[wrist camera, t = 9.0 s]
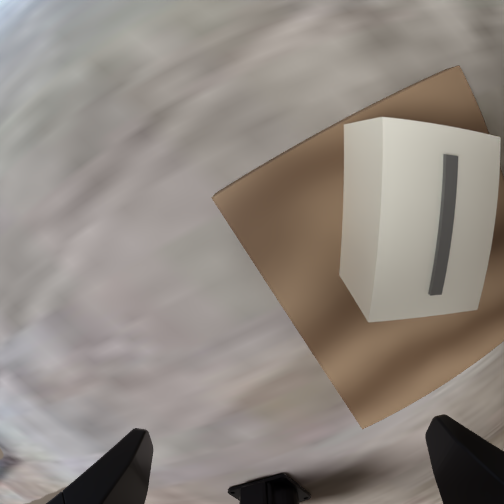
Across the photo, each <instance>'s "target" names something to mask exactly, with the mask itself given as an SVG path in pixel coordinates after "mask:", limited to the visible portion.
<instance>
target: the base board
mask: <svg viewBox="0 0 504 504" xmlns="http://www.w3.org/2000/svg"><path fill="white" fill-rule="evenodd" d="M378 117H389V118H398V119H406V120H413V121H420V122H427V123H433V124H439V125H445V126H451V127H456V128H461V129H466V130H471V131H476V132H480V133H485V134H489V132H488V129H487V127H486V124H485V121H484V119H483V116H482V114H481V111H480V109H479V107H478V104H477V102H476V100H475V97H474V95H473V93H472V91H471V89H470V86H469V84H468V82H467V80H466V78H465V76H464V74H463V72H462V70H461V68H460V66H455V67H452V68H449V69H446V70H444V71H441V72H439V73H437V74H435V75H432V76H430V77H428V78H426V79H424V80H421V81H419V82H417V83H415V84H413V85H411V86H409V87H407V88H404V89H402V90H400V91H398V92H396V93H394V94H392V95H390V96H388V97H386V98H384V99H382V100H380V101H378V102H376V103H374V104H372V105H370V106H368V107H366V108H364V109H362V110H360V111H358V112H356V113H354V114H352V115H351V116H349V117H347V118H345V119H343V120H341V121H339V122H337V123H335V124H334V125H332V126H330V127H328V128H326V129H324V130H322V131H321V132H319V133H317V134H315V135H313V136H312V137H310V138H308V139H306V140H304V141H303V142H301V143H299V144H297V145H295V146H294V147H292V148H290V149H288V150H287V151H285V152H283V153H281V154H280V155H278V156H276V157H275V158H273V159H271V160H269V161H268V162H266V163H264V164H263V165H261V166H259V167H258V168H256V169H254V170H253V171H251V172H249V173H248V174H246V175H244V176H243V177H241V178H239V179H238V180H236V181H234V182H233V183H231V184H230V185H228V186H226V187H225V188H223V189H221V190H220V191H218V192H217V193H215V194H214V195H213V197H212V199H213V201H214V202H215V204H216V205H217V207H218V209H219V210H220V212H221V213H222V215H223V216H224V218H225V219H226V221H227V222H228V224H229V226H230V227H231V229H232V230H233V232H234V233H235V235H236V236H237V238H238V239H239V241H240V243H241V244H242V246H243V247H244V249H245V250H246V252H247V253H248V255H249V256H250V258H251V260H252V261H253V263H254V264H255V266H256V267H257V269H258V270H259V272H260V273H261V275H262V276H263V278H264V280H265V281H266V283H267V284H268V286H269V287H270V289H271V290H272V292H273V293H274V295H275V296H276V298H277V300H278V301H279V303H280V304H281V306H282V307H283V309H284V310H285V312H286V313H287V315H288V316H289V318H290V319H291V321H292V323H293V324H294V326H295V327H296V329H297V330H298V332H299V333H300V335H301V336H302V338H303V339H304V341H305V342H306V344H307V345H308V347H309V349H310V350H311V352H312V353H313V355H314V356H315V358H316V359H317V361H318V362H319V364H320V365H321V367H322V368H323V370H324V371H325V373H326V374H327V376H328V378H329V379H330V381H331V382H332V384H333V385H334V387H335V388H336V390H337V391H338V393H339V394H340V396H341V397H342V399H343V400H344V402H345V403H346V405H347V406H348V408H349V410H350V411H351V413H352V414H353V416H354V417H355V419H356V420H357V422H358V423H359V425H360V426H361V428H362V429H364V428H366V427H368V426H370V425H372V424H374V423H376V422H378V421H380V420H382V419H384V418H386V417H388V416H390V415H392V414H394V413H396V412H398V411H399V410H401V409H403V408H405V407H407V406H408V405H410V404H412V403H414V402H415V401H417V400H419V399H421V398H422V397H424V396H426V395H427V394H429V393H431V392H432V391H434V390H435V389H437V388H439V387H440V386H442V385H443V384H445V383H446V382H448V381H449V380H451V379H453V378H454V377H456V376H457V375H458V374H460V373H461V372H463V371H464V370H466V369H467V368H469V367H470V366H471V365H473V364H474V363H476V362H477V361H478V360H480V359H481V358H482V357H484V356H485V355H486V354H488V353H489V352H490V351H492V350H493V349H494V348H495V347H497V346H498V345H499V344H500V343H502V342H503V341H504V178H503V175H502V171H501V168H500V173H499V188H498V200H497V209H496V218H495V225H494V232H493V239H492V245H491V251H490V256H489V262H488V267H487V271H486V276H485V281H484V285H483V289H482V293H481V297H480V301H479V305H478V309H477V310H472V311H465V312H458V313H451V314H444V315H436V316H427V317H419V318H410V319H400V320H390V321H380V322H368V321H367V319H366V318H365V316H364V314H363V313H362V311H361V309H360V308H359V306H358V305H357V303H356V301H355V300H354V298H353V296H352V295H351V293H350V291H349V290H348V288H347V287H346V285H345V283H344V282H343V280H342V279H341V277H340V275H339V271H340V257H341V241H342V221H343V192H344V124H349V123H353V122H358V121H363V120H368V119H373V118H378Z"/></svg>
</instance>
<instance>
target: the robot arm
mask: <svg viewBox="0 0 504 504" xmlns="http://www.w3.org/2000/svg"><path fill="white" fill-rule="evenodd" d="M426 442H427V447H428V451H429V455H430V460H431V464H432V469H433V473H434V476H435V480H436V482H437V485H438V488H439V492H440V495H441V498H442V501H443V504H504V451H502V450H500V449H499V448H497V447H496V446H494V445H492V444H491V443H489V442H488V441H486V440H485V439H483V438H481V437H480V436H478V435H477V434H475V433H474V432H472V431H470V430H469V429H467V428H466V427H464V426H463V425H461V424H459V423H458V422H456V421H455V420H453V419H452V418H450V417H449V416H447V415H439V416H435V417H434V418H433V419H432V421H431V423H430V426H429V428H428V430H427V432H426ZM152 456H153V444H152V441H151V438H150V435H149V432H148V431H147V430H145V429H139V428H135V429H133V430H132V431H130V432H129V433H128V434H127V435H126V436H125V437H124V438H123V439H122V440H120V441H119V442H118V443H117V444H116V445H115V446H114V447H113V448H112V449H110V450H109V451H108V452H107V453H106V454H105V455H104V456H102V457H101V458H100V459H99V460H98V461H97V462H96V463H94V464H93V465H92V466H91V467H90V468H89V469H87V470H86V471H85V472H84V473H83V474H82V475H80V476H79V477H78V478H77V479H76V480H75V481H73V482H72V483H71V484H70V485H69V486H67V487H66V488H65V489H64V490H63V492H60V493H59V494H58V495H56V496H55V497H54V498H53V499H52V500H50V501H49V502H48V503H46V504H144V503H145V499H146V495H147V491H148V485H149V477H150V470H151V463H152ZM228 493H229V494H230V495H232V496H233V497H235V498H236V499H238V500H239V501H240V503H239V504H299V502H301V501H305V500H308V499H310V498H311V496H310V494H309V493H308V492H307V491H306V490H304V489H303V488H302V487H300V486H299V485H298V484H297V483H295V482H294V481H293V480H292V479H290V478H289V477H288V476H287V475H285V474H280V475H276V476H273V477H270V478H266V479H263V480H259V481H256V482H252V483H248V484H244V485H240V486H236V487H232V488H229V489H228Z"/></svg>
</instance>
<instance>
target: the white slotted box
mask: <svg viewBox="0 0 504 504" xmlns="http://www.w3.org/2000/svg"><path fill="white" fill-rule="evenodd" d="M499 173H500V137H498V136H494V135H489V134H485V133H480V132H476V131H471V130H466V129H461V128H456V127H451V126H445V125H439V124H433V123H427V122H420V121H413V120H406V119H398V118H389V117H378V118H373V119H368V120H363V121H358V122H353V123H349V124H344V192H343V221H342V241H341V257H340V271H339V275H340V277H341V279H342V280H343V282H344V283H345V285H346V287H347V288H348V290H349V291H350V293H351V295H352V296H353V298H354V300H355V301H356V303H357V305H358V306H359V308H360V309H361V311H362V313H363V314H364V316H365V318H366V319H367V321H368V322H380V321H390V320H400V319H410V318H419V317H427V316H436V315H444V314H451V313H458V312H465V311H472V310H477V309H478V305H479V301H480V297H481V293H482V289H483V285H484V281H485V276H486V271H487V267H488V262H489V256H490V251H491V245H492V239H493V232H494V225H495V218H496V209H497V200H498V188H499Z"/></svg>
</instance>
